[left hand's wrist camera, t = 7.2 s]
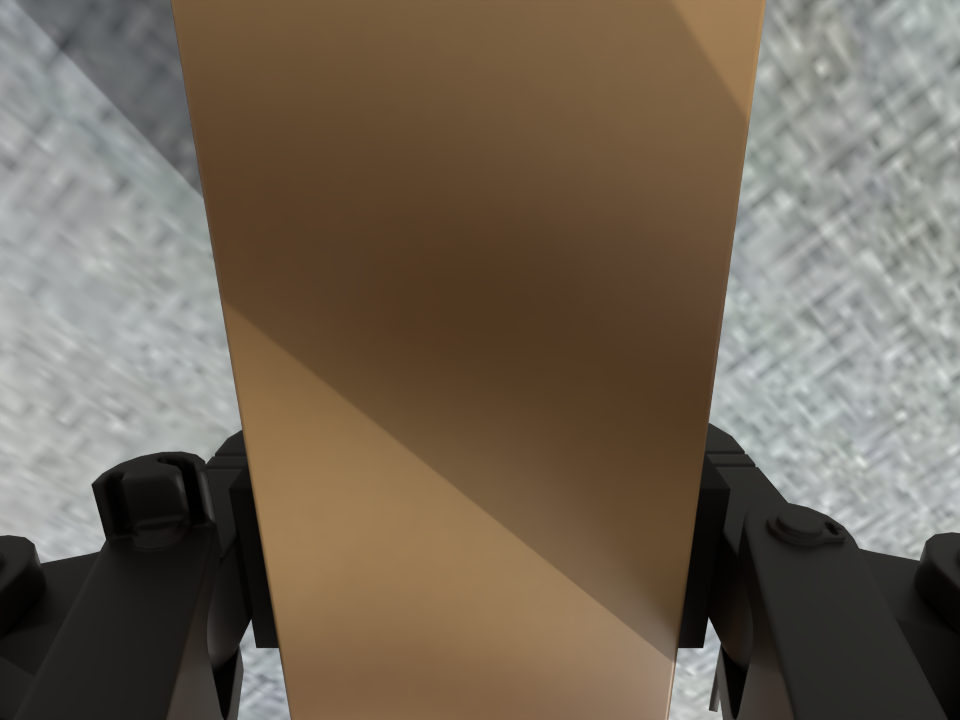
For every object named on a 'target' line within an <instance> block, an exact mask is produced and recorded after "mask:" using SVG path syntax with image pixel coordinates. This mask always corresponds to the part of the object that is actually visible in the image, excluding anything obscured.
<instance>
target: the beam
mask: <svg viewBox="0 0 960 720" xmlns="http://www.w3.org/2000/svg"><path fill="white" fill-rule="evenodd" d="M765 3H766V0H171V5H172V11H173V17H174V23H175V29H176V35H177V41H178V47H179V53H180V59H181V65H182V71H183V77H184V83H185V89H186V95H187V101H188V107H189V113H190V119H191V125H192V131H193V137H194V143H195V149H196V155H197V161H198V167H199V173H200V179H201V185H202V191H203V197H204V203H205V209H206V215H207V221H208V227H209V233H210V239H211V245H212V251H213V257H214V263H215V269H216V275H217V281H218V287H219V293H220V299H221V305H222V311H223V317H224V323H225V329H226V335H227V340H228V346H229V352H230V358H231V364H232V370H233V376H234V382H235V388H236V394H237V400H238V406H239V412H240V418H241V424H242V430H243V436H244V442H245V448H246V454H247V460H248V466H249V472H250V478H251V484H252V490H253V496H254V502H255V508H256V514H257V520H258V526H259V532H260V538H261V544H262V550H263V556H264V562H265V568H266V574H267V580H268V586H269V592H270V598H271V604H272V610H273V616H274V622H275V628H276V634H277V640H278V646H279V652H280V658H281V664H282V670H283V676H284V682H285V688H286V694H287V700H288V706H289V712H290V718H291V720H668V717H669V710H670V702H671V695H672V688H673V680H674V673H675V666H676V658H677V651H678V644H679V636H680V629H681V621H682V614H683V607H684V599H685V592H686V585H687V577H688V570H689V563H690V555H691V548H692V540H693V533H694V526H695V518H696V511H697V504H698V496H699V489H700V482H701V474H702V467H703V459H704V452H705V445H706V437H707V430H708V423H709V415H710V408H711V401H712V393H713V386H714V378H715V371H716V364H717V356H718V349H719V342H720V334H721V327H722V320H723V312H724V305H725V297H726V290H727V283H728V275H729V268H730V261H731V253H732V246H733V239H734V231H735V224H736V216H737V209H738V202H739V194H740V187H741V180H742V172H743V165H744V158H745V150H746V143H747V135H748V128H749V121H750V113H751V106H752V99H753V91H754V84H755V77H756V69H757V62H758V54H759V47H760V40H761V32H762V25H763V18H764V10H765Z"/></svg>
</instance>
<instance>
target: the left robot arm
mask: <svg viewBox="0 0 960 720" xmlns="http://www.w3.org/2000/svg"><path fill="white" fill-rule="evenodd" d="M91 485H92V488H93V492H94V496H95V500H96V503H97V507H98V511H99V514H100V518H101V522H102V526H103V529H104V533H105V537H106V541H105V543H104V545H103V547H102V549H101V551H99V552H96V553H92V554H87V555H82V556H77V557H72V558H67V559H62V560H57V561H52V562H47V563H40V560H39V557H38V554H37V551H36V548H35V545H34V544H33V543H32V542H31V541H29V540H28V539H27V538H25V537H18V536H11V535H6V536H0V720H237V718H238V710H239V702H240V695H241V687H242V680H243V672H244V669H243V662H242V655H241V650H240V645H239V644H240V642H241V639H242V637H243V635H244V633H245V631H246V629H247V627H248V625H249V623H250V620H252V626H253V631H254V637H255V643H256V648H279V646H278V640H277V634H276V628H275V622H274V616H273V610H272V604H271V598H270V592H269V586H268V580H267V574H266V568H265V562H264V556H263V550H262V544H261V538H260V532H259V526H258V520H257V514H256V508H255V502H254V496H253V490H252V484H251V478H250V472H249V466H248V460H247V454H246V448H245V442H244V436H243V430H241V431H239V432H238V433H236V434H234V435H233V436H231V437H229V438H228V439H227V440H226V441H225V442H224V443H223V445H222V446H221V447H220V448H219V449H218V451H217V452H216V453H215V457H212V458H211V459H210V460H209V461H208V463H207V464H205V461H204V460H203V459H202V458H200V457H199V456H198V455H196V454H191V453H186V452H160V453H155V454H150V455H145V456H140V457H137V458H134V459H132V460H129V461H126V462H123V463H120V464H118V465H117V466H115V467H113V468H111V469H109V470H108V471H106V472H104V473H102V474H101V475H100V476H99V477H98V478H97V479H96V480H95V481H94V482H93V483H92V484H91ZM708 617H709V619H710V621H711V623H712V625H713V627H714V629H715V631H716V633H717V635H718V637H719V640H720V642H721V645H720V650H719V655H718V661H717V666H716V671H715V677H714V682H713V687H712V693H711V699H710V706H709V710H710V711H715V712H717V710H718V705H719V700H720V701H721V709H722V716H723V720H960V533H953V532H950V533H943V534H935V535H934V536H932V537H931V538H930V539H928V540H927V541H926V543H925V546H924V549H923V552H922V555H921V558H920V561H917V560H912V559H907V558H902V557H897V556H892V555H887V554H881V553H876V552H871V551H867V550H863V549H859V548H858V546H857V544H856V542H855V540H854V538H853V537H852V536H851V535H850V533H849V532H848V531H847V530H846V529H845V527H844V526H842V525H841V524H839V523H838V522H836V521H835V520H833V519H832V518H830V517H829V516H827V515H825V514H822V513H820V512H818V511H815V510H813V509H810V508H808V507H804V506H800V505H795V504H791V503H788V502H787V501H786V500H785V499H784V497H783V496H782V495H781V494H780V493H779V492H778V490H777V489H776V488H775V487H774V486H773V484H772V483H771V482H770V481H769V480H768V478H767V477H766V476H765V475H764V474H763V473H762V471H761V470H760V469H759V468H758V467H755V463H754V462H753V461H752V459H751V458H750V457H749V456H748V455H747V454H745V451H744V450H743V449H742V448H741V446H740V445H739V444H738V443H737V442H736V441H735V439H734V438H733V437H732V436H731V435H729V434H727V433H726V432H724V431H722V430H720V429H719V428H717V427H715V426H714V425H712V424H710V423H708V430H707V437H706V445H705V452H704V459H703V467H702V474H701V482H700V489H699V496H698V504H697V511H696V518H695V526H694V533H693V540H692V548H691V555H690V563H689V570H688V577H687V585H686V592H685V599H684V607H683V614H682V621H681V629H680V636H679V644H678V648H703V646H704V640H705V634H706V629H707V623H708Z"/></svg>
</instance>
